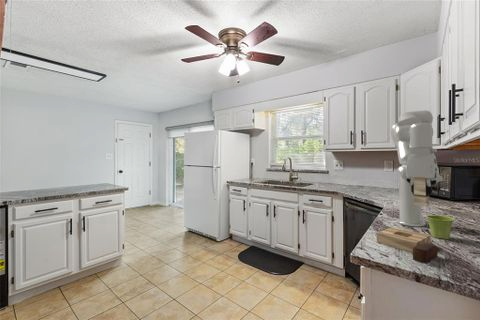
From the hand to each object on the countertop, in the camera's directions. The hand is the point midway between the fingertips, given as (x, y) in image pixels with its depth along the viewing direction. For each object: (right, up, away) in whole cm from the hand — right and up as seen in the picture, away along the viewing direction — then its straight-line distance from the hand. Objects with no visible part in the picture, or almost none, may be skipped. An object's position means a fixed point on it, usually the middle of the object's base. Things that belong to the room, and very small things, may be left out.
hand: (421, 194), depth 97 cm
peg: (0, -4, 0) cm, 4 cm away
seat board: (-11, -20, -4) cm, 23 cm away
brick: (-12, -20, -17) cm, 29 cm away
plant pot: (+11, -20, +3) cm, 23 cm away
